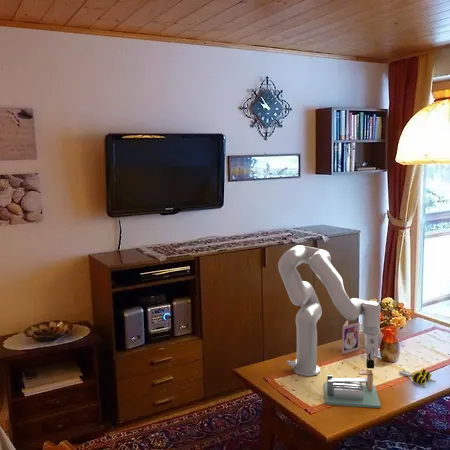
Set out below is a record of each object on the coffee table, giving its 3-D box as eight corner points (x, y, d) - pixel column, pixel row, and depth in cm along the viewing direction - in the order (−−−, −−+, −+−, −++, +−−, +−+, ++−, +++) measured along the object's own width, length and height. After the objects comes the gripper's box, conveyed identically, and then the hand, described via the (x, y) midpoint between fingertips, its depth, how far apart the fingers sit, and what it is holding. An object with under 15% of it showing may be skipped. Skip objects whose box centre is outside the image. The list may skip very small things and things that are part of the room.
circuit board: (325, 404, 209) (325, 402, 209) (324, 384, 227) (324, 382, 226) (380, 408, 206) (380, 405, 205) (374, 387, 223) (374, 385, 223)
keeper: (359, 389, 219) (359, 373, 218) (358, 385, 223) (358, 369, 222) (372, 390, 218) (372, 374, 217) (371, 385, 222) (371, 370, 221)
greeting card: (343, 354, 259) (343, 326, 256) (333, 349, 265) (334, 322, 263) (360, 350, 264) (360, 322, 262) (350, 345, 270) (351, 318, 268)
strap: (329, 385, 215) (328, 380, 215) (328, 382, 218) (328, 377, 218) (367, 385, 213) (367, 380, 212) (366, 382, 216) (366, 377, 215)
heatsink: (327, 397, 213) (328, 383, 212) (327, 386, 222) (327, 372, 221) (363, 399, 210) (363, 385, 209) (360, 388, 220) (361, 374, 219)
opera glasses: (421, 387, 224) (424, 378, 222) (410, 381, 228) (413, 372, 226) (431, 380, 231) (433, 371, 229) (420, 374, 234) (422, 365, 233)
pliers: (424, 385, 222) (394, 373, 234) (424, 388, 222) (394, 376, 234) (436, 378, 228) (407, 367, 240) (436, 382, 228) (407, 370, 240)
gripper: (381, 335, 216) (381, 375, 219) (377, 323, 231) (376, 361, 234) (364, 334, 218) (363, 374, 220) (360, 322, 232) (360, 360, 235)
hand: (370, 367), depth 227 cm, fingers closed
